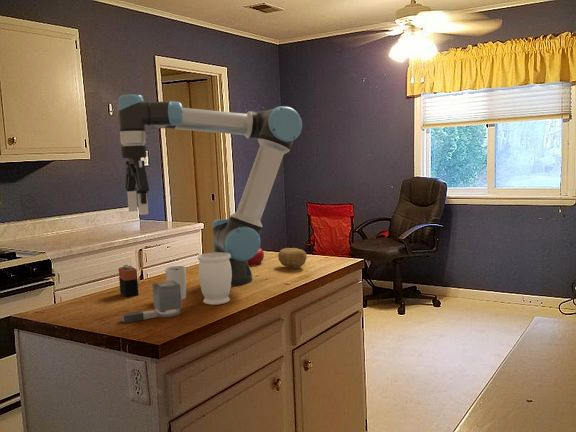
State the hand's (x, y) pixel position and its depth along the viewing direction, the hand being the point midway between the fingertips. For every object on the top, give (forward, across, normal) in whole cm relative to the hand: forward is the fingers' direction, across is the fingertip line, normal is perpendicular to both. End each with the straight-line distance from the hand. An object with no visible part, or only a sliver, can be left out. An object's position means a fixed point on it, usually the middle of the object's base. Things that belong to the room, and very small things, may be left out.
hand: (138, 212), depth 174 cm
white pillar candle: (+29, -3, -10) cm, 31 cm away
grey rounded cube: (+27, -19, -2) cm, 33 cm away
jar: (+29, -15, -19) cm, 38 cm away
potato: (+29, +14, -63) cm, 71 cm away
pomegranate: (+29, +32, -54) cm, 69 cm away
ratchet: (+29, -19, +3) cm, 35 cm away
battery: (+29, +12, +2) cm, 31 cm away
